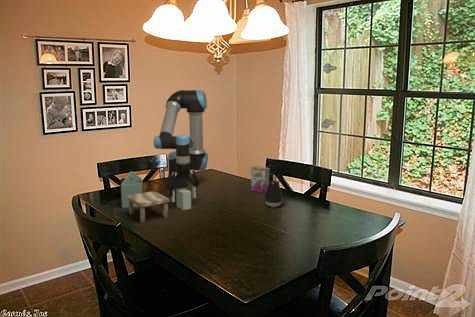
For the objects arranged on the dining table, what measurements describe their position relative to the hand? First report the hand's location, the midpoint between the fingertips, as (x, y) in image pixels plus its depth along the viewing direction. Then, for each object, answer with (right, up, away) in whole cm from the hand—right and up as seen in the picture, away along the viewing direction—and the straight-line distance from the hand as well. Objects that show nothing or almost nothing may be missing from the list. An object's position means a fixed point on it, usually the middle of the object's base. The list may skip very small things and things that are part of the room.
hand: (183, 199), depth 229 cm
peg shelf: (-17, -7, -12) cm, 22 cm away
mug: (-34, -1, +15) cm, 38 cm away
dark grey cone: (+51, -4, +6) cm, 52 cm away
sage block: (0, -5, +1) cm, 5 cm away
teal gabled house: (-27, -4, +4) cm, 28 cm away
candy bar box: (+45, +1, +34) cm, 56 cm away
